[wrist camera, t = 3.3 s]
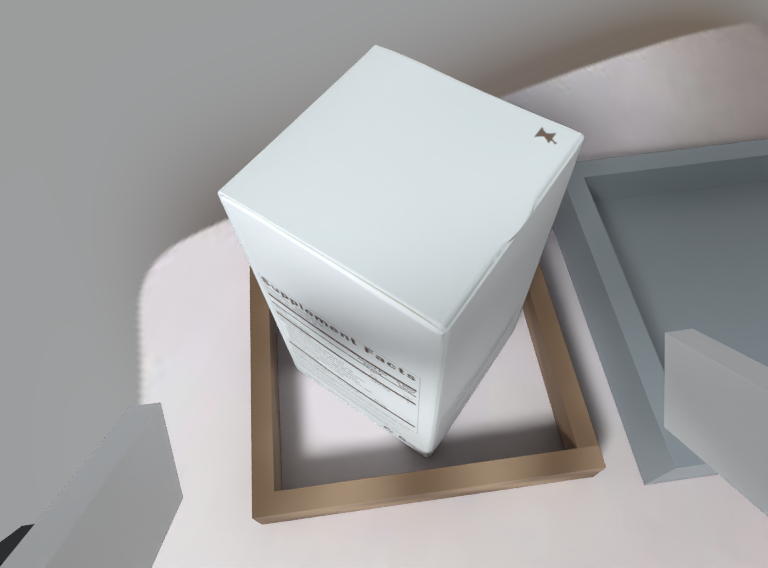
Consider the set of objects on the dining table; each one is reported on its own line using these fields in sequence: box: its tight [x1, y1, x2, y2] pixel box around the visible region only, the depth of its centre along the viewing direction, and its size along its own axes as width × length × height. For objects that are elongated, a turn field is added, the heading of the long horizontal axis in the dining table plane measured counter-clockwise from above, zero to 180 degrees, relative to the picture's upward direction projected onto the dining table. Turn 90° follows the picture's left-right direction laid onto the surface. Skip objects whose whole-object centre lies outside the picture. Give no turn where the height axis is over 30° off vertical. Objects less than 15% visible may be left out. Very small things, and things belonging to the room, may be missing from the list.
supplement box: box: [218, 45, 585, 457], centre depth 24 cm, size 9×9×15 cm
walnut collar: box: [250, 263, 606, 524], centre depth 30 cm, size 16×16×2 cm
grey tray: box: [553, 139, 768, 485], centre depth 30 cm, size 17×17×4 cm
